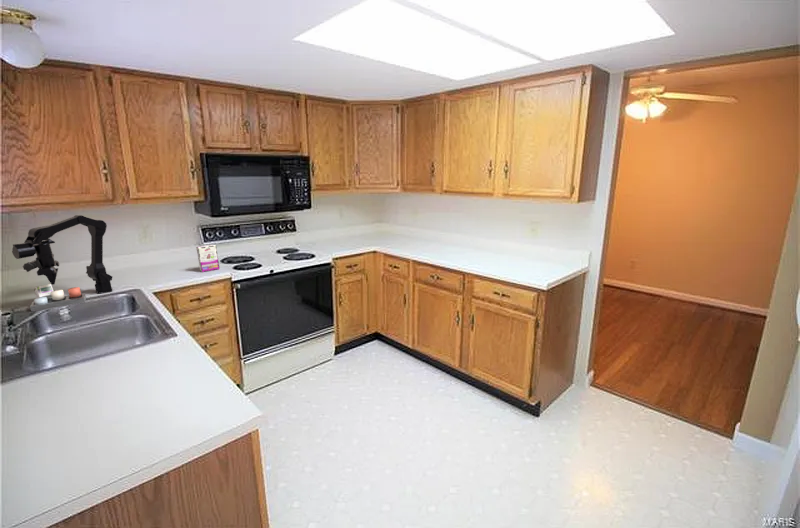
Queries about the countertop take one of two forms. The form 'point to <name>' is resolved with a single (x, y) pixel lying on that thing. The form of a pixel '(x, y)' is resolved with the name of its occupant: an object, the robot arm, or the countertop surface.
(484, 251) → the countertop surface
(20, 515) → the countertop surface
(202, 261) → the candy bar box
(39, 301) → the blue button
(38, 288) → the syrup box
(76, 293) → the red button
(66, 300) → the console
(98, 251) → the robot arm
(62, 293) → the ivory button
